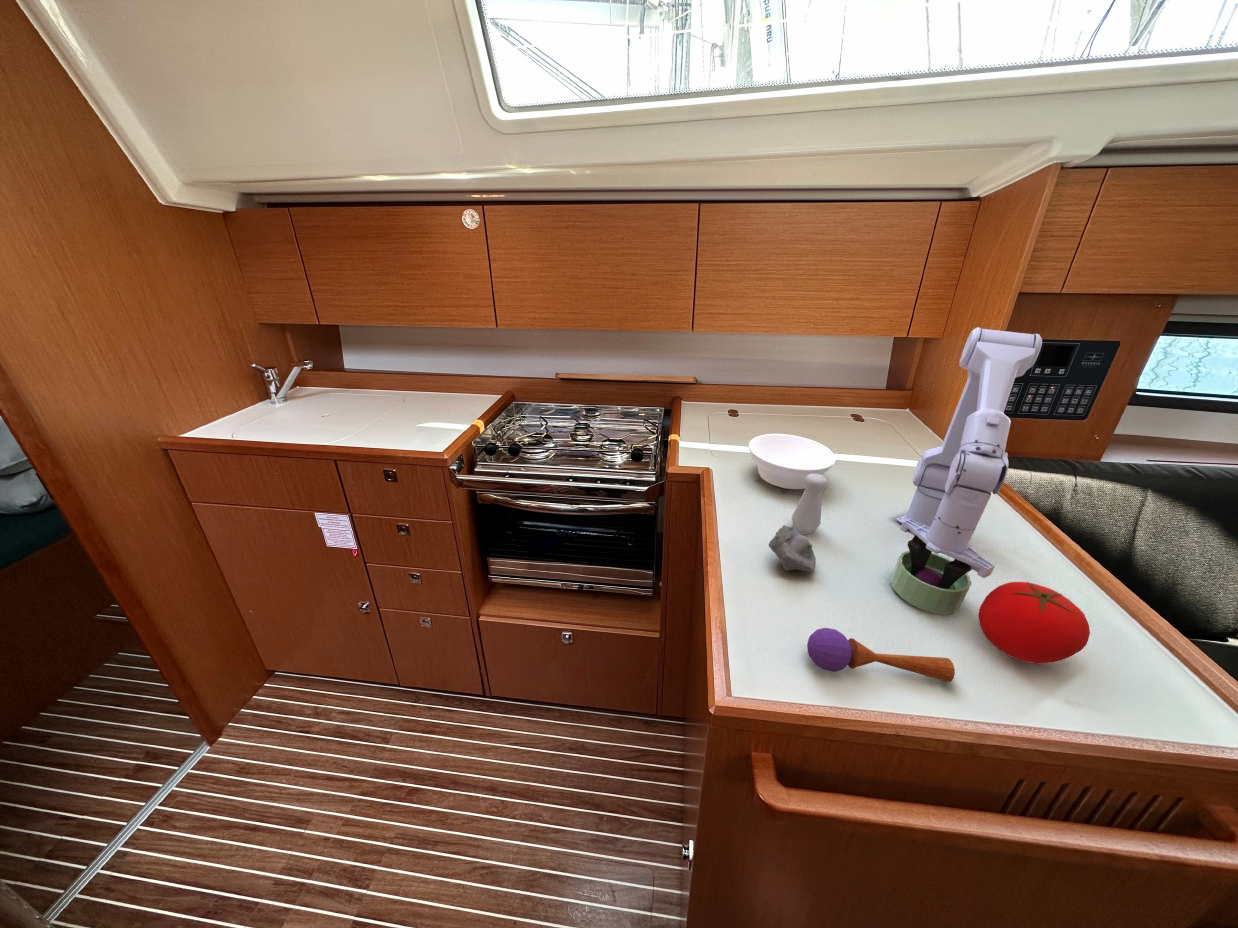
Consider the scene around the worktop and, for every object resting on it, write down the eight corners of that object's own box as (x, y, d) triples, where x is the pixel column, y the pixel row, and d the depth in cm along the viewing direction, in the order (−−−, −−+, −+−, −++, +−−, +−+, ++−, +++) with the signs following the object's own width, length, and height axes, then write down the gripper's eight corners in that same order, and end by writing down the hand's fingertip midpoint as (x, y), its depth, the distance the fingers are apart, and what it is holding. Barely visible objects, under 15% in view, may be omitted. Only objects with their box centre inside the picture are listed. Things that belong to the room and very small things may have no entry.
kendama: (967, 679, 64) (819, 653, 65) (944, 699, 68) (805, 675, 69) (949, 640, 69) (811, 616, 70) (928, 661, 72) (798, 638, 73)
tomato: (950, 625, 78) (976, 574, 73) (1009, 612, 82) (1037, 561, 76) (1022, 686, 68) (1058, 631, 63) (1086, 667, 71) (1124, 614, 66)
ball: (920, 579, 87) (928, 561, 85) (944, 594, 84) (953, 575, 82) (905, 586, 85) (913, 567, 83) (929, 602, 82) (937, 582, 80)
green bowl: (914, 567, 92) (923, 544, 89) (972, 604, 83) (985, 580, 80) (876, 582, 87) (885, 559, 85) (934, 623, 78) (946, 599, 76)
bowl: (818, 509, 109) (827, 478, 106) (732, 483, 119) (737, 454, 115) (834, 474, 125) (842, 446, 122) (757, 453, 135) (762, 427, 131)
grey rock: (815, 589, 85) (825, 554, 81) (763, 578, 87) (771, 543, 83) (812, 553, 94) (821, 520, 91) (766, 544, 97) (773, 511, 93)
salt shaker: (819, 538, 99) (834, 485, 93) (791, 534, 100) (804, 481, 94) (815, 523, 104) (829, 471, 98) (788, 519, 105) (800, 468, 99)
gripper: (899, 503, 82) (877, 565, 88) (988, 551, 70) (955, 618, 77) (925, 495, 85) (901, 555, 91) (1014, 539, 73) (980, 605, 79)
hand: (927, 583), depth 84 cm, fingers closed on ball, 4 cm apart
